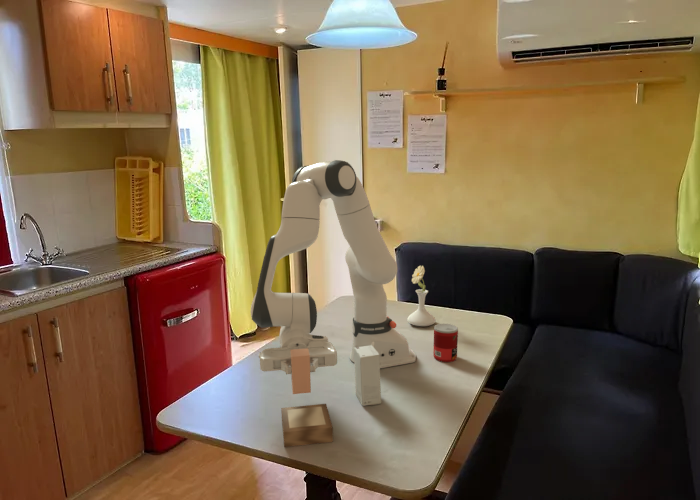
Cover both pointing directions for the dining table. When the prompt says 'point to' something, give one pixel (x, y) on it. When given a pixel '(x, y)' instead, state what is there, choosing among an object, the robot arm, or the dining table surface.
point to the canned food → (445, 342)
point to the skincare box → (367, 375)
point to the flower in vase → (420, 302)
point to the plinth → (306, 425)
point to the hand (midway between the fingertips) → (300, 370)
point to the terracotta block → (300, 371)
